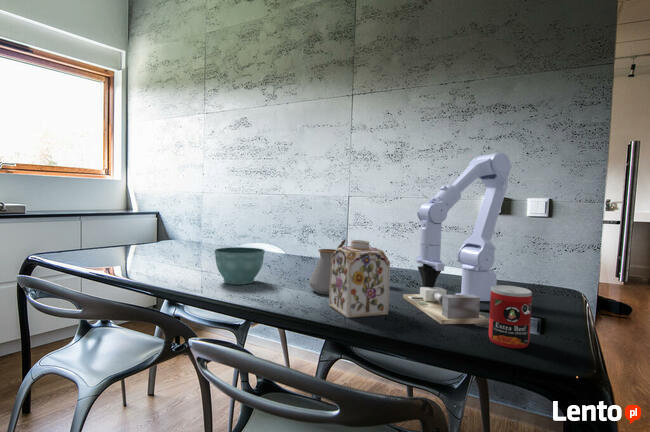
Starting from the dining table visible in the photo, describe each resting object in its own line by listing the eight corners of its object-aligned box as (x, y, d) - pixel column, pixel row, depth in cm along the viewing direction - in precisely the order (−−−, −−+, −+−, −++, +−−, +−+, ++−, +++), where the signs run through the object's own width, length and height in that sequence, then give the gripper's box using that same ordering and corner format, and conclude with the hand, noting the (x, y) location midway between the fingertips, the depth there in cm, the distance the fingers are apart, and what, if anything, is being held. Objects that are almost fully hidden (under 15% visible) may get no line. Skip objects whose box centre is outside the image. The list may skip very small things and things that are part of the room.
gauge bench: (441, 297, 117) (441, 277, 117) (488, 323, 92) (489, 298, 92) (403, 297, 115) (403, 277, 115) (441, 324, 90) (442, 298, 90)
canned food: (489, 345, 78) (491, 290, 77) (487, 333, 85) (490, 283, 85) (531, 351, 75) (535, 295, 74) (526, 338, 82) (529, 287, 82)
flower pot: (204, 280, 129) (205, 248, 128) (247, 275, 139) (248, 245, 139) (228, 290, 117) (229, 254, 116) (273, 284, 128) (274, 251, 127)
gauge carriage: (439, 297, 111) (439, 287, 111) (456, 306, 102) (456, 295, 102) (408, 297, 110) (409, 287, 110) (422, 306, 100) (423, 295, 100)
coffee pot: (338, 298, 112) (340, 246, 111) (302, 293, 116) (304, 243, 116) (359, 284, 132) (361, 240, 131) (328, 280, 136) (330, 238, 135)
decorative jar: (328, 305, 103) (330, 238, 102) (366, 303, 107) (369, 238, 107) (347, 319, 92) (350, 243, 91) (389, 315, 96) (392, 243, 96)
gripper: (408, 241, 118) (406, 285, 118) (427, 247, 104) (425, 297, 104) (429, 242, 119) (427, 286, 119) (452, 247, 105) (450, 297, 105)
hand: (428, 291), depth 112 cm, fingers closed
